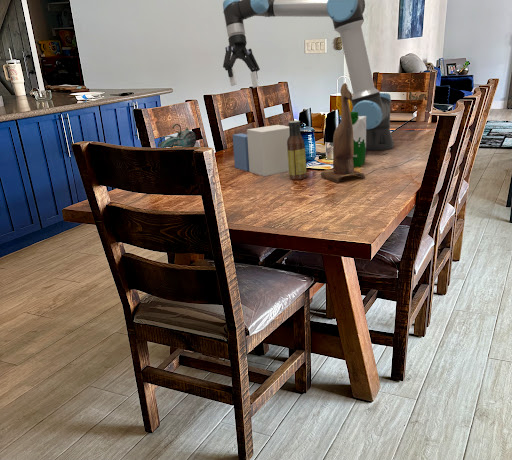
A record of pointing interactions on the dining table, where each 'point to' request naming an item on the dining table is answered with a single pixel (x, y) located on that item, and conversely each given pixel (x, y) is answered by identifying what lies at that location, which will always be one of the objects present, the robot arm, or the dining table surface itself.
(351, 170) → the bird sculpture
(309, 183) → the dining table surface
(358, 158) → the milk carton
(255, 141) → the light grey upright box
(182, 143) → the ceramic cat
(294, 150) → the sauce bottle
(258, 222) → the dining table surface
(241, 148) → the blue rectangular block
